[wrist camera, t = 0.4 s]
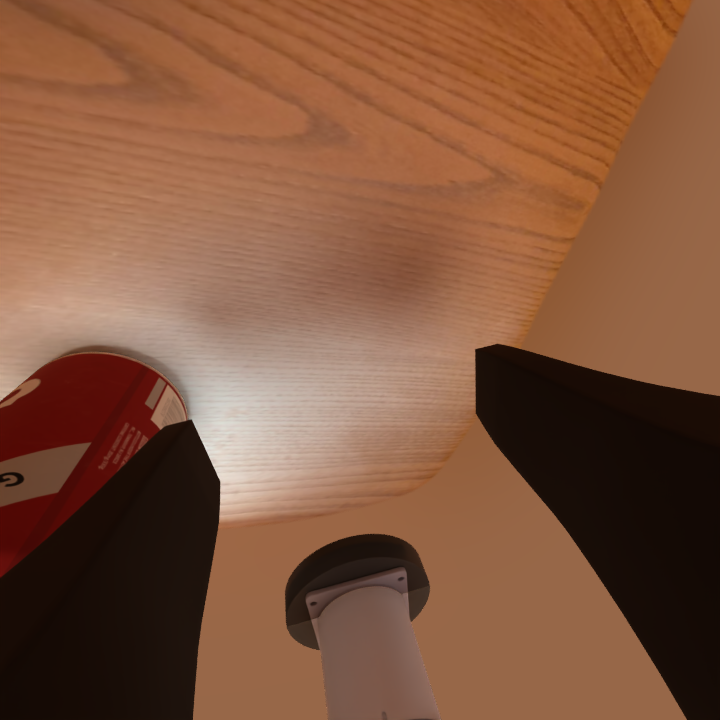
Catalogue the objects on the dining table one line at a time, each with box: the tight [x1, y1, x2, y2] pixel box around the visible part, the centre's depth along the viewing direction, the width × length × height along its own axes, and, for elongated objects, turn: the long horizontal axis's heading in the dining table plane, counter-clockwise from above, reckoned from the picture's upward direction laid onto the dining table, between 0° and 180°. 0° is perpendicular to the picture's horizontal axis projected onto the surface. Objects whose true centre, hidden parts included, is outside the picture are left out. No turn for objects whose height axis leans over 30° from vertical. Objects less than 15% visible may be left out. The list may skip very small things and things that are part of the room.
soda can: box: [0, 352, 188, 577], centre depth 13 cm, size 7×7×12 cm
